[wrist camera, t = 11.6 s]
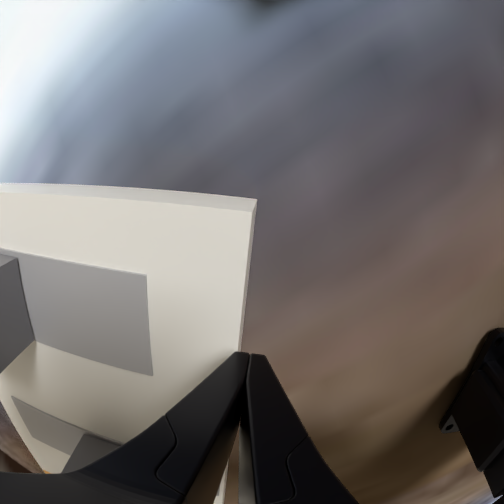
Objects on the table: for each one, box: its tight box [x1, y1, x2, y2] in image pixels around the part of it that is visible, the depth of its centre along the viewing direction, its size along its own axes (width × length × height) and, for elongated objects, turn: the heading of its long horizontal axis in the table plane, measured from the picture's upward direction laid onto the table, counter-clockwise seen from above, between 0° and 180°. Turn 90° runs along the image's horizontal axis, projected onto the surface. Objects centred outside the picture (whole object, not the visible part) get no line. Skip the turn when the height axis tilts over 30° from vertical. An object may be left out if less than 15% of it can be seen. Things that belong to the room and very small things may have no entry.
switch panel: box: [0, 183, 257, 504], centre depth 13 cm, size 14×26×2 cm, turn 174°
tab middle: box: [61, 434, 120, 473], centre depth 11 cm, size 4×4×3 cm
